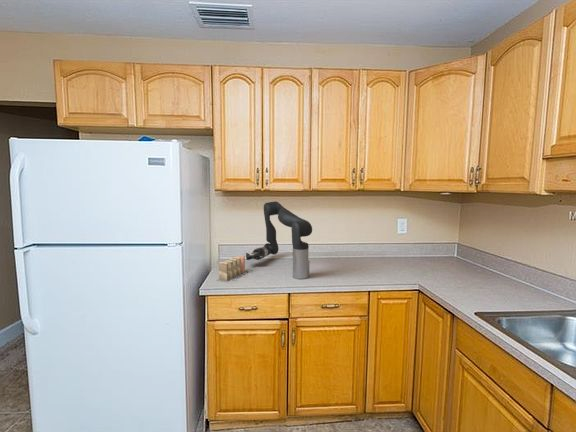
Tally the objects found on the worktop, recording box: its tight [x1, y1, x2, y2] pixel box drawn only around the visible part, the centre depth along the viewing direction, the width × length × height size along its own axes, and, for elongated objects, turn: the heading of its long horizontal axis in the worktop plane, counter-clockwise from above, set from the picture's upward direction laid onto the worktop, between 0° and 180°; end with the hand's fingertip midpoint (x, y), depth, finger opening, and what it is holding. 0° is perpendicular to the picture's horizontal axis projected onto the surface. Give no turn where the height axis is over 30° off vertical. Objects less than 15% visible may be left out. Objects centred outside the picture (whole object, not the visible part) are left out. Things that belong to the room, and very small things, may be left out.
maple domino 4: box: [231, 256, 241, 275], centre depth 199 cm, size 2×5×10 cm, turn 67°
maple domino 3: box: [227, 258, 237, 277], centre depth 195 cm, size 2×5×10 cm, turn 67°
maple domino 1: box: [218, 261, 228, 281], centre depth 187 cm, size 2×5×10 cm, turn 67°
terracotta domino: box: [236, 255, 246, 273], centre depth 203 cm, size 2×5×10 cm, turn 67°
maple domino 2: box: [223, 260, 233, 279], centre depth 191 cm, size 2×5×10 cm, turn 67°
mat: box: [215, 271, 249, 283], centre depth 196 cm, size 23×8×1 cm, turn 157°
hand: (247, 258), depth 210 cm, fingers closed
